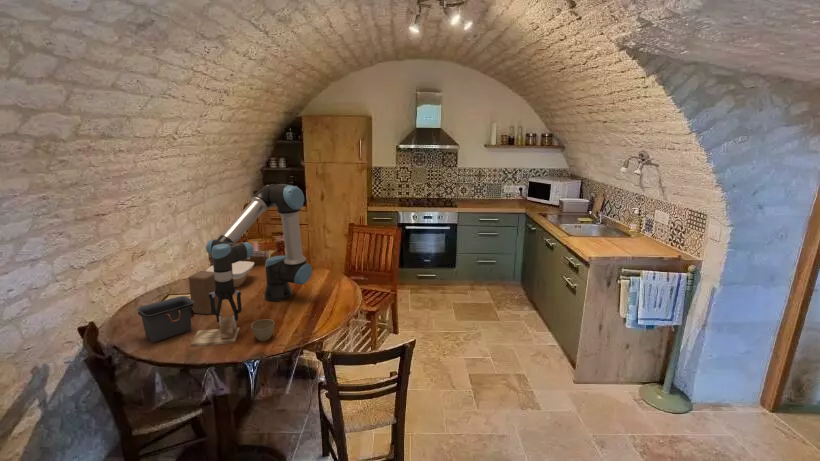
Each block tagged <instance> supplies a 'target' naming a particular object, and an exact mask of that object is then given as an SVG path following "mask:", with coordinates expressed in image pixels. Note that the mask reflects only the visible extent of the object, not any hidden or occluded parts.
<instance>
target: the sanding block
mask: <svg viewBox="0 0 820 461" xmlns="http://www.w3.org/2000/svg"><path fill="white" fill-rule="evenodd" d="M236 328H237V327H236ZM236 328H234V327H233V316H226V317H222V322H221V325H220V324H219V329H220V333H221V339H233V337H234V334H235V332H236Z"/></svg>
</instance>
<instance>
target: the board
mask: <svg viewBox="0 0 820 461" xmlns="http://www.w3.org/2000/svg"><path fill="white" fill-rule="evenodd" d="M239 333H240V327H236V332H235V334H234V337H233V339H221V333H220V328H215V329H201V330H200V329H199V330H197V331H196V334H195V335H194V337H193V339H192V340H191V343H190V347H203V346H215V345H226V344H236V342H237V339H238V335H239Z"/></svg>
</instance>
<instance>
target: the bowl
mask: <svg viewBox="0 0 820 461" xmlns="http://www.w3.org/2000/svg"><path fill="white" fill-rule="evenodd" d="M254 266H255V262H254V261H246V260H242V261H239V262H236V263H233V264H232V271H233V283H234V288H238V287H240V286H241V285H243V284H244V283H245V281H246V279H247V276H248V274H249V272H250V271H251V270H252V268H253V267H254ZM205 271H209V272H214V268H213V264H212V265H211V266H210V267H208V268H207V269H206V270H205Z"/></svg>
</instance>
